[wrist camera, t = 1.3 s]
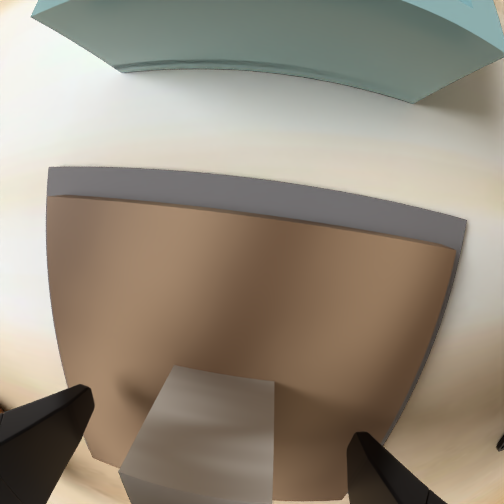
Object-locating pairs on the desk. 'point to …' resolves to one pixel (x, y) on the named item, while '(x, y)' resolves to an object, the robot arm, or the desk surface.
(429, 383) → the desk surface
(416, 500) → the robot arm
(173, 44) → the dish
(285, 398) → the lid
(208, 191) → the mat
